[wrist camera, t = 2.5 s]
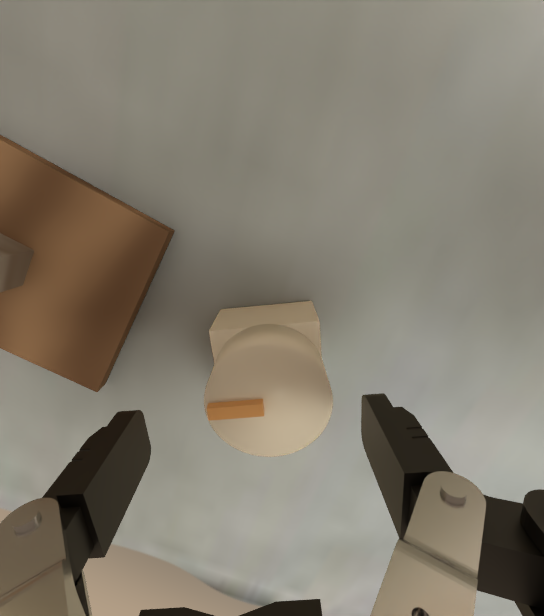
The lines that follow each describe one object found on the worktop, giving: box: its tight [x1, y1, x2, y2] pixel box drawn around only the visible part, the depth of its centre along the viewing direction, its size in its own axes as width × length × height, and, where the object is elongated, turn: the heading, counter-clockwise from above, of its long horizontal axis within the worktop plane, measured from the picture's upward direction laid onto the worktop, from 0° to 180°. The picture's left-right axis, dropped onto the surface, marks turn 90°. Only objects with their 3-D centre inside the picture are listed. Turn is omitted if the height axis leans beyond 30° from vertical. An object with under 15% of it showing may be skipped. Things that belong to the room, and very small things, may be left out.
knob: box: [204, 301, 333, 457], centre depth 17 cm, size 6×6×6 cm
